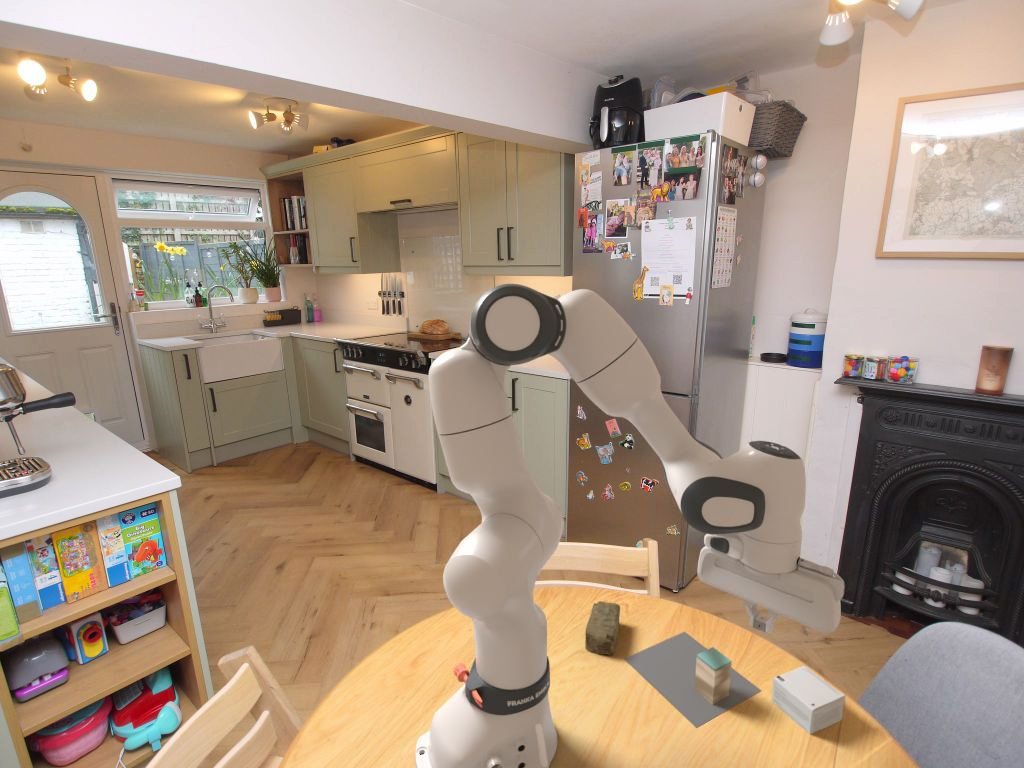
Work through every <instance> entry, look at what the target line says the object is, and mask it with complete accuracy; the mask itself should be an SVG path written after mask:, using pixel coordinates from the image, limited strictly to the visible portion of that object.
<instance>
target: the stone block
mask: <svg viewBox="0 0 1024 768" xmlns="http://www.w3.org/2000/svg"><path fill="white" fill-rule="evenodd" d="M620 614H621V606H620V605H619V604H618V603H615V602H614V603H611V602H607V601H606V602H605V601H597V603H596V602H594V603H593V605H592V608H591V612H590V614H589V619H588V620H587V624H586V629H585V633H584V634H585V641H584V642H585V643H584V645H585V646H584V647H585V650H586V651H588V652H590V653H591V654H592V653H593V654H597V655H603V654H604V655H608V656H610V657H611V656H613V654H614V653H615V649H616V644H617V643H616V642H617V639H618V635H619V629H620V616H621V615H620Z"/></svg>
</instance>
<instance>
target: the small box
mask: <svg viewBox="0 0 1024 768" xmlns="http://www.w3.org/2000/svg"><path fill="white" fill-rule="evenodd" d="M845 697H846V695H845V694H844V693H842V692H841V691H839V690H838V689H837V688H835V687H834V686H833V685H832V684H830V683H829V682H828V681H826V680H824V679H823V678H822V677H821V676H819V675H818V674H817V673H816V672H814V671H813V670H811V669H810V668H809V667H807V666H806V665H803V666H799V667H797V668H794V669H793V670H789V671H788V672H784V673H782V674H779V675H777V676H774V677H773V678H772V691H771V702H772V703H773V704H775V705H776V707H777V708H779V709H780V710H781V711H782V712H783V713H784V714H786V715H787V717H789V718H790V719H791V720H792V721H793V722H795V723H796V724H797V725H798V726H799V727H800V728H801V729H803V730H804V731H805V732H806V733H808V734H809V735H813V734H814V733H816V732H819V731H821V730H823V729H826V728H828V727H830V726H832V725H834V724H837V723H839V722H841V721H842V720H843V716H844V715H843V714H844V706H845V705H844V704H845Z"/></svg>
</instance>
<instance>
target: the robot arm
mask: <svg viewBox="0 0 1024 768" xmlns="http://www.w3.org/2000/svg"><path fill="white" fill-rule="evenodd" d="M469 317H470V318H469V329H468V334H467V338H466V342H465V343H463V344H462V345H460V346H458V347H456V348H455V347H454V348H451V349H449V350H447V351H444V352H443V353H442V354H440V355H439V356H437V358H435V360H433V362H432V363H431V365H430V367H429V370H428V386H429V387H428V388H429V389H428V390H429V396H430V403H431V404H430V405H431V410H432V414H433V420H434V424H435V429H436V431H437V435H438V438H439V442H440V445H441V446H440V447H441V450H442V454H443V457H444V460H445V464H446V468H447V471H448V475H449V478H450V481H451V483H452V485H453V486H454V487H455V489H457V490H458V491H461V492H462V493H465V494H469V495H470V496H471V497H472V499H473V500H474V502H475V503H476V506H477V507H478V509H479V511H480V514H481V523H480V524H479V525H478V526H477V527H475V528H474V529H473V530H472V531H471V532H469V534H468V535H467V536H465V538H463V539H462V540H461V541H460V542H459V544H458V545H457V547H456V548H455V550H454V551H453V553H452V554H451V556H450V558H449V559H448V561H447V563H446V564H445V567H444V568H443V569H444V570H443V574H442V581H443V587H444V591H445V594H446V596H447V598H448V600H449V602H450V603H451V604H452V606H454V608H455V609H456V610H457V611H458V612H459V613H461V614H462V615H464V616H465V617H467V618H470V619H471V621H472V624H473V632H474V635H473V636H474V651H475V652H474V653H475V657H474V660H473V663H472V665H471V668H470V670H468V669H467V666H466V665H465V664H464V663H462V662H461V663H457V664H456V665H455V667H453V674H454V676H455V677H456V678H457V680H458V682H460V683H464V684H463V685H462V686H461V687H460V688H459V689H458V690H457V691H456V692H455V693H454V694H453V695H452V696H451V697H450V698H449V699H448V700H447V701H446V702H445V703H444V704H443V705H442V706H441V707H440V708H439V709H438V710H437V711H436V712H435V713H434V714H433V717H432V719H431V720H432V721H431V724H430V729H429V730H428V731H427V732H425V733H423V734H422V735H420V737H419V738H417V742H416V745H415V753H414V754H415V755H414V758H415V759H414V761H416V763H415V768H416V767H417V768H550V765H551V763H552V760H553V759H554V757H555V755H556V752H557V747H558V733H557V730H556V727H555V724H554V721H553V718H552V712H551V707H550V700H549V690H550V686H551V669H550V667H551V665H550V660H549V656H548V641H547V640H548V622H547V616H546V614H545V612H544V610H543V609H542V608H541V606H540V605H538V604H537V603H536V602H535V600H534V589H535V585H536V582H537V579H538V577H539V575H540V572H541V571H542V570H543V568H544V567H545V566H546V564H547V563H548V562H549V560H550V559H551V558H552V556H553V555H554V554H555V552H556V551H557V549H558V547H559V544H560V541H561V539H562V535H563V531H564V527H565V526H564V525H565V520H564V515H563V512H562V509H561V508H560V506H559V505H558V503H557V502H556V501H555V500H554V499H553V498H551V496H549V495H547V494H546V493H543V491H542V490H541V489H540V487H539V486H538V484H537V482H536V481H535V479H534V477H533V475H532V473H531V471H530V469H529V466H528V465H527V462H526V459H525V456H524V453H523V449H522V446H521V442H520V439H519V435H518V432H517V428H516V424H515V421H514V417H513V414H512V410H511V404H510V402H509V398H508V395H507V390H506V389H507V388H506V377H507V373H508V371H509V369H510V368H511V366H518V365H523V364H527V363H529V362H532V361H534V360H536V359H539V358H541V357H544V356H547V355H549V356H551V357H553V358H554V359H555V360H557V361H558V362H559V363H560V364H561V365H562V366H563V367H564V369H565V370H566V371H567V372H568V375H570V377H571V378H572V379H573V381H574V382H575V384H576V385H577V386H578V387H579V389H580V391H582V393H583V394H584V395H585V396H586V397H587V399H589V400H590V402H592V403H593V404H594V405H595V406H596V407H597V408H598V409H600V410H601V412H603V413H605V414H606V415H608V416H610V417H614V418H616V417H617V418H623V419H625V420H627V421H629V422H630V423H631V424H632V426H634V427H635V428H636V429H637V431H638V432H639V433H640V435H642V437H643V438H644V439H645V441H646V442H647V443H648V444H649V446H650V447H651V448H652V449H653V451H654V452H655V453H656V455H657V456H658V458H659V460H660V462H661V466H662V472H663V476H664V481H665V483H666V485H667V487H668V488H669V489H670V491H671V493H672V495H673V497H674V499H675V502H676V504H677V507H678V508H679V512H680V513H681V515H682V516H683V519H684V520H685V522H686V523H687V524H688V525H689V526H690V527H691V528H693V529H695V530H696V531H698V532H699V533H703V534H705V535H704V537H703V538H704V539H703V544H704V545H705V546H703V547H702V548H701V549H700V552H699V556H698V562H697V576H698V578H699V580H700V581H701V583H702V584H705V585H708V586H710V587H713V588H715V589H717V590H719V591H722V592H725V593H727V594H729V595H731V596H734V597H737V598H738V599H741V600H743V604H742V605H743V607H744V608H745V610H746V613H747V615H748V617H750V618H749V626H750V627H752V628H753V629H756V630H759V631H761V632H764V633H765V634H768V635H770V634H771V633H772V632H773V631H774V630H773V629H774V623H775V621H777V620H778V618H780V616H783V617H785V618H788V619H790V620H792V621H794V622H797V623H799V624H802V625H804V626H806V627H809V628H811V629H813V630H816V631H819V632H821V633H824V634H826V635H829V634H830V633H832V632H834V631H836V629H837V627H838V626H839V625H840V622H841V617H842V616H841V615H842V613H841V612H842V609H841V608H842V606H841V600H842V599H843V597H844V595H845V585H846V584H845V581H844V579H843V578H842V577H841V576H840V575H839V573H836V572H835V570H834V569H833V568H831V567H830V566H829V567H828V566H825V565H820V564H817V563H815V562H813V561H810V560H808V559H805V558H802V557H801V552H802V551H801V550H802V541H803V530H802V529H803V528H802V526H801V518H802V515H803V513H804V511H805V507H806V495H807V494H806V492H807V491H806V490H807V488H806V487H807V484H806V483H807V481H806V480H807V479H806V468H805V467H806V466H805V463H804V460H803V458H801V456H800V455H799V454H798V453H796V452H795V451H794V450H792V449H790V448H789V447H787V446H785V445H781V444H779V443H775V442H771V441H766V440H751V441H748V443H747V444H746V445H745V446H744V447H743V448H741V449H740V450H738V451H737V452H735V453H733V454H731V455H729V456H726V457H724V458H723V457H722V456H721V454H720V453H719V452H718V451H717V450H716V449H715V448H714V447H712V446H710V445H708V444H707V443H705V442H703V441H701V440H699V439H697V438H695V437H694V436H693V435H692V434H691V433H690V432H689V431H688V430H687V428H686V427H685V426H684V425H683V423H682V422H681V421H680V419H679V418H678V417H677V415H676V414H675V413H674V411H673V409H671V407H670V405H668V403H667V401H666V400H665V397H664V395H663V393H662V389H661V382H662V380H661V374H660V373H659V370H658V368H657V366H656V364H655V362H654V360H653V358H652V356H651V355H650V353H649V351H648V350H647V347H646V346H645V345H644V343H642V340H641V339H640V338H639V336H638V334H636V332H635V331H634V330H633V328H632V327H631V326H630V325H629V324H628V323H627V322H626V321H625V319H624V318H623V317H622V316H621V315H620V314H619V313H618V312H617V311H616V310H615V308H614V307H612V306H611V305H610V304H609V303H608V302H607V301H606V300H605V299H604V298H603V297H601V296H600V295H599V294H598V293H597V292H595V291H594V290H590V289H587V288H580V289H575V290H572V291H569V292H567V293H564V294H563V295H561V296H560V297H559V298H557V299H556V298H554V297H552V296H549V295H547V294H544V293H543V292H540V291H538V290H536V289H533V288H532V287H530V286H526V285H523V284H518V283H503V284H499V285H497V286H494V287H492V288H490V289H488V290H487V291H486V292H484V293H483V294H482V295H481V296H480V297H479V299H478V300H477V301H476V303H475V304H474V306H473V308H472V311H471V314H470V316H469ZM757 606H759V607H760V608H763V609H765V610H767V615H768V616H769V617H768V616H766V615H763V614H760V612H759V610H758V607H757ZM421 753H424V754H421ZM420 754H421V755H420Z"/></svg>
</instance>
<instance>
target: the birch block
mask: <svg viewBox="0 0 1024 768" xmlns="http://www.w3.org/2000/svg"><path fill="white" fill-rule="evenodd" d="M707 649H708V650H706V651H704V652H701V653H699V654H697V660H696V675H695V690H696V691H697V692H699V693H700V694H701V695H702V696H703V697H704V698H705V699H707V700H708V701H709V702H710V703H711V704H712V705H713V704H715V703H717V702H719V701H720V700H722V699H724V698H726V697H728V696H729V687H730V674H731V668H732V660H731V659H730V658H728V657H727V656H725V654H723V653H722V652H721V651H719V650H718V649H716V648H715V647H714V646H712V647H710V648H707Z"/></svg>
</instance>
